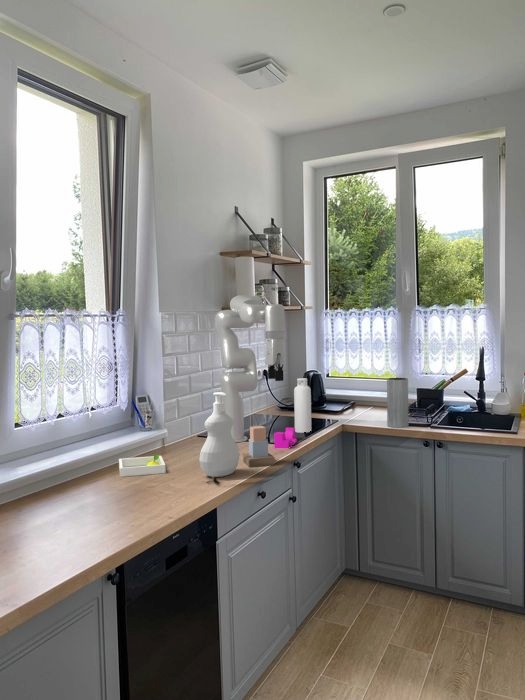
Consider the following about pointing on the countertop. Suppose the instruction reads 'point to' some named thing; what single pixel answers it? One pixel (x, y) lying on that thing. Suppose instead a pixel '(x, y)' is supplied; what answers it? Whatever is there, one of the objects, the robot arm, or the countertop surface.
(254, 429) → the terracotta cube
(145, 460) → the ceramic fruit dish rim
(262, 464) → the walnut base plate
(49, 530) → the countertop surface
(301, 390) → the bottle
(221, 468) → the soap bottle
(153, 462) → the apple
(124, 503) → the countertop surface
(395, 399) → the vase
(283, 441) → the toy block
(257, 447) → the slate block
